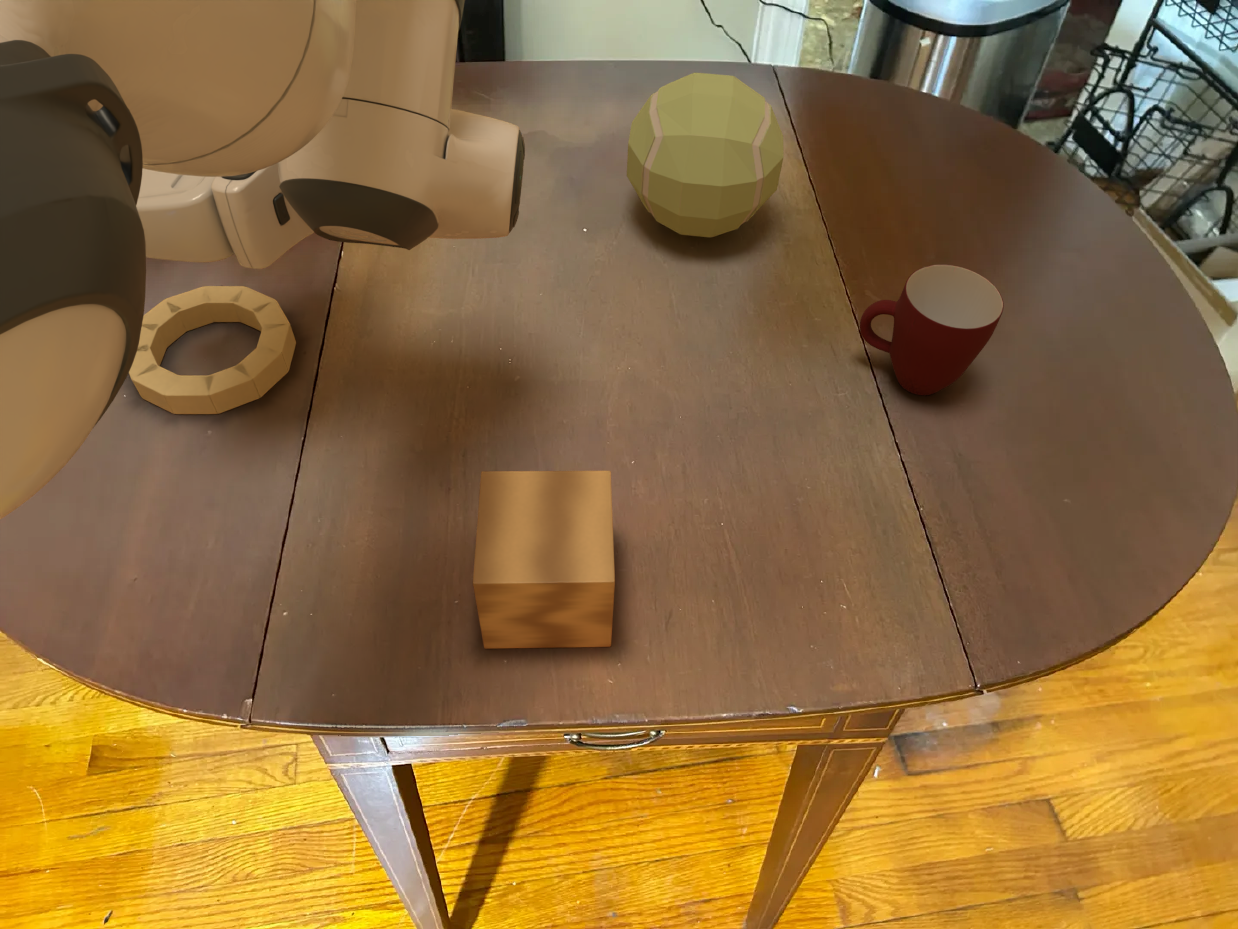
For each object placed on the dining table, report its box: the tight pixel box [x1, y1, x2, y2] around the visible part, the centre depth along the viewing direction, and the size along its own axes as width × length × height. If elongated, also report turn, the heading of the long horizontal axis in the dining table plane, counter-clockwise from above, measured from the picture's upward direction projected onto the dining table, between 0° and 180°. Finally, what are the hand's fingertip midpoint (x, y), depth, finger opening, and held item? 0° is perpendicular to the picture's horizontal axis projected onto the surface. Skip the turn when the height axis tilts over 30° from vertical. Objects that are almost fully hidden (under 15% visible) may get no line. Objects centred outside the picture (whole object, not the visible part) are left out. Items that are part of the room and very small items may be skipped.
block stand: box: [472, 470, 616, 649], centre depth 64 cm, size 9×9×9 cm
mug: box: [859, 263, 1005, 396], centre depth 79 cm, size 10×8×10 cm
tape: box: [128, 285, 297, 415], centre depth 80 cm, size 14×14×2 cm
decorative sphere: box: [626, 72, 785, 238], centre depth 90 cm, size 15×15×15 cm
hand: (106, 135), depth 64 cm, fingers closed on amber bottle, 5 cm apart
